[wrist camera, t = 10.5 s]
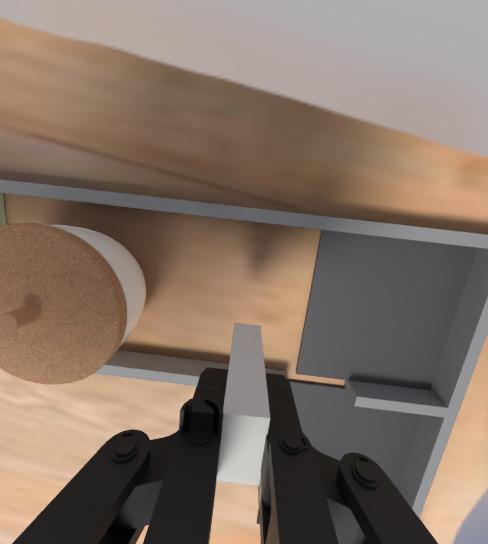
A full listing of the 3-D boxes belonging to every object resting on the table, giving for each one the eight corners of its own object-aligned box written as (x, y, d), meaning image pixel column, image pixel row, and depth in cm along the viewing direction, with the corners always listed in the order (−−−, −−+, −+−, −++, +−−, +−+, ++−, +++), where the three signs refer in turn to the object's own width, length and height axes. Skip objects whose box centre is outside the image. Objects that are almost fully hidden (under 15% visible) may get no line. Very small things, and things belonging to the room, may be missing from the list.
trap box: (5, 445, 27) (-37, 483, 23) (-32, 176, 21) (-98, 167, 17) (401, 498, 27) (426, 546, 23) (490, 236, 20) (546, 240, 16)
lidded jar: (44, 218, 21) (-112, 219, 12) (163, 224, 21) (93, 229, 12) (59, 328, 24) (-62, 398, 15) (166, 335, 24) (110, 410, 14)
